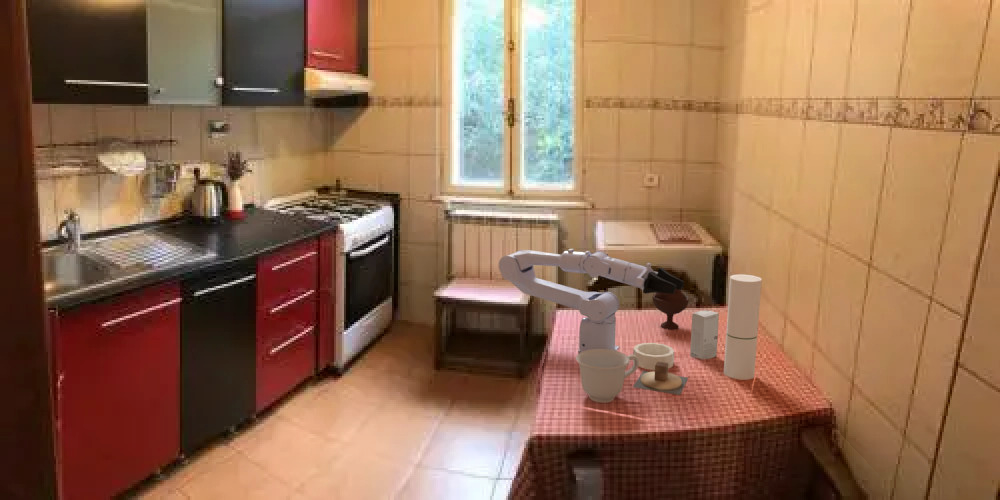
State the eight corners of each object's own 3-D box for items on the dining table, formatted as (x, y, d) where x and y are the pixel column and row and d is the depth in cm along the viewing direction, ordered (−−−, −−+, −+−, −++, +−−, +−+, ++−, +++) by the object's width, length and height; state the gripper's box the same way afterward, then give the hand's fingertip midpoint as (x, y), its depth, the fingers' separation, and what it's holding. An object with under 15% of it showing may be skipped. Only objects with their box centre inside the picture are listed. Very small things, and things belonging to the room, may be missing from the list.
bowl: (628, 367, 171) (629, 353, 170) (638, 354, 180) (638, 340, 179) (669, 374, 166) (669, 359, 166) (676, 360, 175) (677, 346, 175)
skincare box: (702, 361, 175) (704, 317, 172) (688, 356, 178) (691, 312, 176) (717, 356, 178) (720, 313, 175) (704, 351, 182) (706, 308, 179)
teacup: (649, 405, 149) (651, 363, 147) (588, 413, 145) (589, 370, 143) (624, 384, 161) (626, 344, 159) (567, 391, 157) (567, 351, 154)
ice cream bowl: (692, 332, 197) (695, 283, 194) (654, 332, 197) (656, 283, 194) (683, 321, 207) (685, 274, 204) (647, 321, 207) (649, 274, 204)
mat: (632, 388, 158) (632, 386, 158) (643, 372, 168) (643, 370, 168) (679, 396, 153) (680, 394, 153) (688, 379, 163) (688, 377, 163)
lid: (636, 386, 158) (637, 368, 157) (645, 372, 167) (646, 354, 166) (677, 393, 154) (678, 374, 153) (684, 378, 163) (685, 360, 162)
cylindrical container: (753, 372, 167) (761, 275, 162) (754, 382, 161) (762, 282, 156) (723, 368, 170) (730, 273, 164) (723, 379, 163) (729, 280, 158)
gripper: (622, 261, 167) (675, 275, 161) (640, 256, 180) (689, 269, 174) (616, 287, 169) (668, 303, 163) (634, 281, 181) (683, 295, 175)
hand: (679, 287), depth 168 cm, fingers open, 7 cm apart
